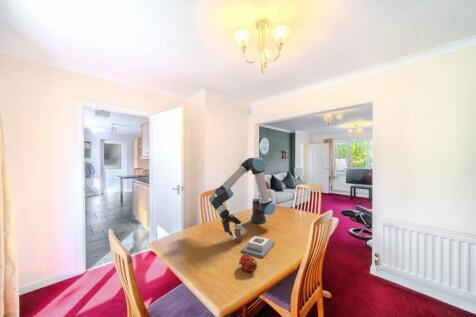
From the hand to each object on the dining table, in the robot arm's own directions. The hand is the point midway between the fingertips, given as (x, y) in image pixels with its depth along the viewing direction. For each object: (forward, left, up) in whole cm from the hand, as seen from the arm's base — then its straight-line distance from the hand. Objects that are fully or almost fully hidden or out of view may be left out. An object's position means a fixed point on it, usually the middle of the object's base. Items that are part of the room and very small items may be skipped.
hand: (239, 235), depth 137 cm
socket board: (0, +15, -6) cm, 16 cm away
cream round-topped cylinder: (0, -2, -6) cm, 6 cm away
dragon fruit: (+26, +20, -6) cm, 33 cm away
